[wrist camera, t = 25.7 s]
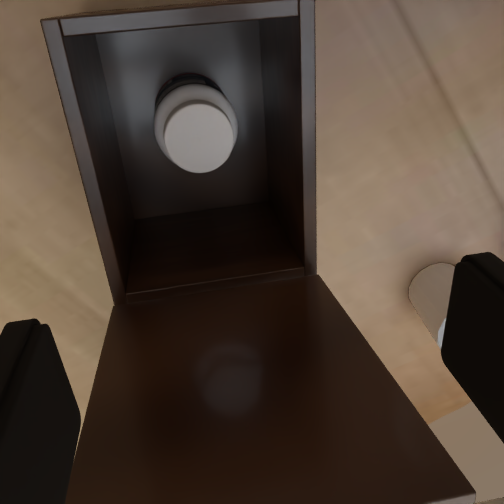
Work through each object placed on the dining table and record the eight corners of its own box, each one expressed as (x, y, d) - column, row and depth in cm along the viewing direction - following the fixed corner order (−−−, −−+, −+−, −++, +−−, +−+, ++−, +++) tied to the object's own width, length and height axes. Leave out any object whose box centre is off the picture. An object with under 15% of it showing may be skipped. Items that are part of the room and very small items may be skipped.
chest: (79, 12, 31) (39, 19, 21) (266, -3, 32) (315, -5, 22) (127, 225, 38) (114, 307, 28) (277, 205, 40) (316, 275, 30)
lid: (40, 586, 13) (84, 697, 14) (477, 492, 14) (464, 604, 16) (112, 305, 28) (129, 378, 30) (318, 273, 29) (321, 345, 31)
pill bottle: (234, 135, 36) (254, 172, 28) (168, 153, 35) (169, 195, 28) (216, 62, 33) (233, 81, 25) (144, 81, 33) (139, 106, 25)
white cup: (408, 324, 49) (443, 370, 43) (396, 273, 45) (432, 315, 39) (470, 299, 49) (514, 342, 43) (462, 246, 45) (509, 284, 39)
